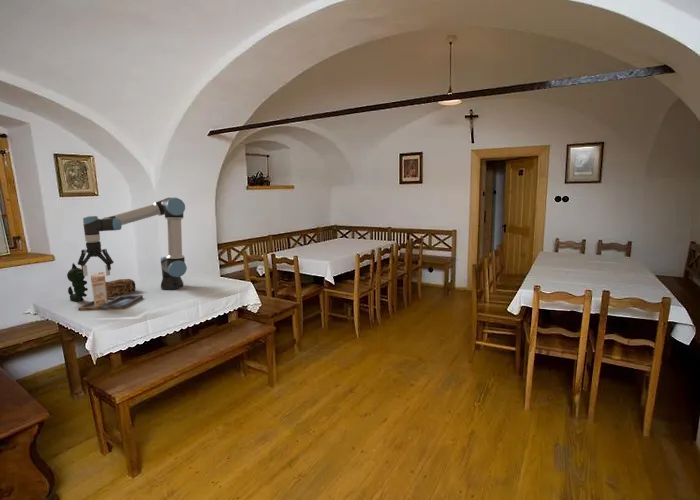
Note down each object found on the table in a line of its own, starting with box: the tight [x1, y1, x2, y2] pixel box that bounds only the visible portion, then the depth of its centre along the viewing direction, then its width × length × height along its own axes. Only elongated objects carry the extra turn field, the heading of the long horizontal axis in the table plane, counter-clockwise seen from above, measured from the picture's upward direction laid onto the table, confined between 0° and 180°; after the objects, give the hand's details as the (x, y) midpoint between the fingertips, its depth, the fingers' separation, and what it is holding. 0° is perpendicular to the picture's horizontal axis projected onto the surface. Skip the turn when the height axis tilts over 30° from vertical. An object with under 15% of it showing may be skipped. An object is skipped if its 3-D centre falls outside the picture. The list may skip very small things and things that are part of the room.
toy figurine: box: [66, 262, 89, 303], centre depth 247 cm, size 9×19×25 cm, turn 59°
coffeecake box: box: [90, 271, 109, 307], centre depth 237 cm, size 15×7×20 cm, turn 32°
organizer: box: [77, 294, 144, 311], centre depth 238 cm, size 27×22×2 cm
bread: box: [105, 278, 137, 297], centre depth 262 cm, size 19×11×10 cm, turn 138°
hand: (97, 275), depth 235 cm, fingers open, 13 cm apart
